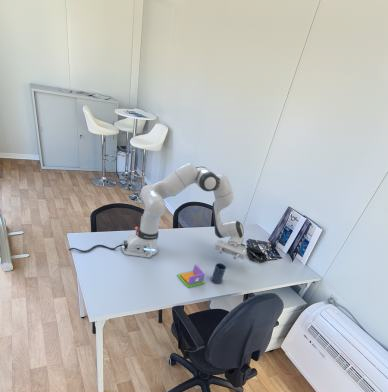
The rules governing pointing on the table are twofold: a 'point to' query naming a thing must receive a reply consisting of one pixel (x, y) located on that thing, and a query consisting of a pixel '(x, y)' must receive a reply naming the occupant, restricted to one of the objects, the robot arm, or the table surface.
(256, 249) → the cable
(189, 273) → the dollhouse room
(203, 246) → the table surface
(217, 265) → the pen cup
